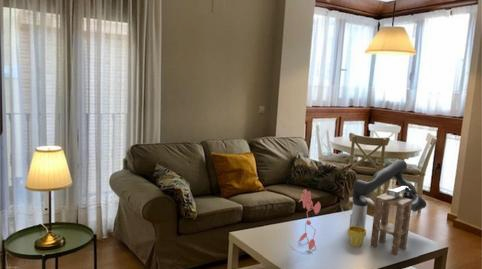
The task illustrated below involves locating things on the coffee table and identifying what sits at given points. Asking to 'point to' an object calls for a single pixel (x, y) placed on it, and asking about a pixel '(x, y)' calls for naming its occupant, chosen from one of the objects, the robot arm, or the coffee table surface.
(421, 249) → the coffee table surface
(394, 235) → the walnut stand
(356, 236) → the plant pot
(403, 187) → the brushed grey block
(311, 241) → the figurine
